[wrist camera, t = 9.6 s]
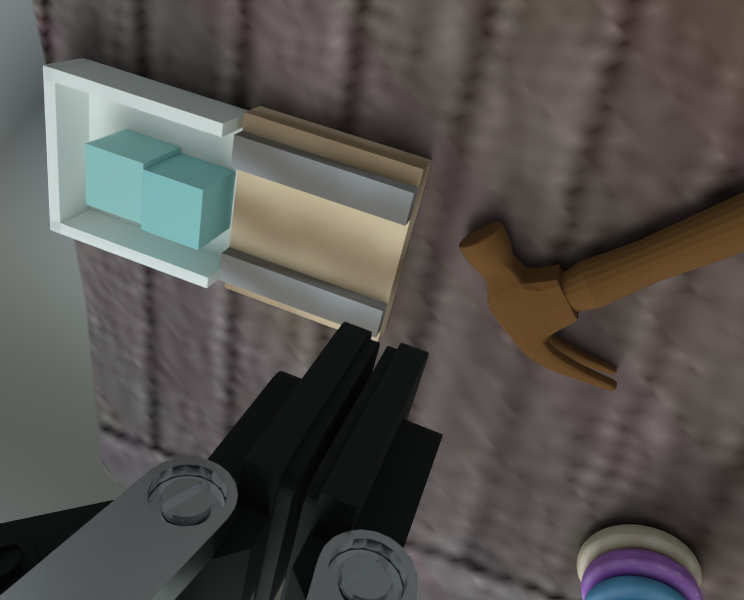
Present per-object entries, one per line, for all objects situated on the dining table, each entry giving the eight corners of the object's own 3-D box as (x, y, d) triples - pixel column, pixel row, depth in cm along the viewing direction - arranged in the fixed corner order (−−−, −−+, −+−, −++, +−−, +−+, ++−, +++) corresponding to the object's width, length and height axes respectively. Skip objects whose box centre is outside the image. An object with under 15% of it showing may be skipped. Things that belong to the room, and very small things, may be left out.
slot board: (260, 105, 39) (235, 115, 37) (431, 160, 38) (419, 174, 35) (238, 275, 46) (217, 294, 43) (385, 329, 44) (372, 351, 41)
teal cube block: (180, 152, 42) (143, 169, 39) (236, 171, 41) (203, 190, 38) (177, 209, 44) (141, 229, 41) (230, 227, 43) (198, 250, 40)
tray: (82, 57, 42) (43, 65, 39) (251, 111, 40) (222, 123, 37) (85, 213, 47) (50, 229, 44) (233, 266, 45) (206, 288, 42)
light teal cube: (126, 128, 43) (85, 143, 39) (180, 147, 42) (143, 163, 39) (125, 185, 45) (86, 204, 41) (177, 203, 44) (141, 224, 41)
